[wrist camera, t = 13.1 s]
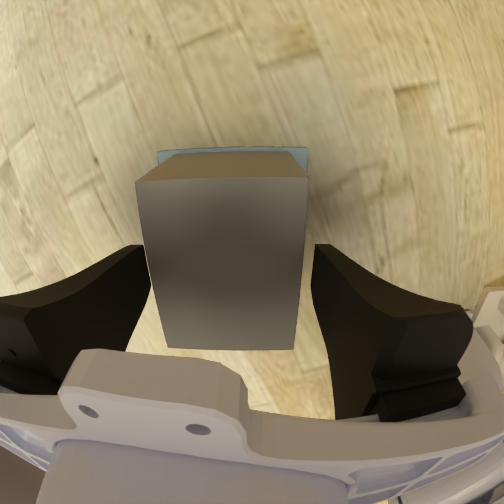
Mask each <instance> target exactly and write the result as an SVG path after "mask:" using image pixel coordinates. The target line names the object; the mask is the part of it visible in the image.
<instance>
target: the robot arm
mask: <svg viewBox="0 0 504 504" xmlns="http://www.w3.org/2000/svg"><path fill="white" fill-rule="evenodd" d="M150 288H151V281H150V276H149V272H148V267H147V262H146V256H145V251H144V246H143V245H129V246H126V247H124V248H122V249H120V250H118V251H116V252H115V253H113V254H111V255H109V256H108V257H106V258H104V259H102V260H101V261H99V262H97V263H95V264H93V265H92V266H90V267H88V268H86V269H84V270H82V271H81V272H79V273H77V274H75V275H73V276H70V277H68V278H66V279H64V280H61V281H59V282H56V283H53V284H51V285H48V286H45V287H42V288H39V289H36V290H32V291H29V292H25V293H21V294H16V295H10V296H4V297H0V445H1V446H3V447H5V448H6V449H8V450H9V451H11V452H13V453H14V454H16V455H18V456H19V457H21V458H23V459H24V460H26V461H28V462H30V463H31V464H33V465H35V466H37V467H39V468H40V469H42V470H44V471H46V474H45V477H44V480H43V483H42V486H41V489H40V492H39V495H38V498H37V501H36V504H375V503H378V502H381V501H385V500H388V503H389V504H504V395H503V393H502V390H503V378H502V372H501V369H500V366H499V364H498V362H497V361H496V359H495V358H494V356H493V355H492V353H491V352H490V350H489V349H488V347H487V346H486V344H485V343H484V341H483V340H482V338H481V337H480V335H479V334H478V333H477V331H476V330H475V328H474V327H473V322H472V320H471V318H472V316H473V313H472V312H471V311H464V309H463V308H462V307H461V305H457V304H452V303H447V302H442V301H438V300H434V299H430V298H427V297H424V296H420V295H417V294H415V293H412V292H409V291H407V290H404V289H402V288H399V287H397V286H395V285H393V284H391V283H389V282H387V281H385V280H383V279H381V278H379V277H377V276H376V275H374V274H372V273H371V272H369V271H368V270H366V269H364V268H363V267H361V266H360V265H358V264H357V263H356V262H354V261H353V260H351V259H350V258H349V257H347V256H346V255H345V254H343V253H342V252H340V251H339V250H338V249H336V248H335V247H333V246H332V245H330V244H315V249H314V259H313V268H312V277H311V293H312V299H313V305H314V309H315V312H316V315H317V319H318V322H319V325H320V328H321V332H322V335H323V338H324V342H325V345H326V349H327V353H328V359H329V365H330V372H331V379H332V387H333V396H334V407H335V420H325V419H314V418H305V417H297V416H289V415H282V414H275V413H269V412H263V411H257V410H251V409H250V408H249V405H248V389H247V387H246V385H245V383H244V381H243V379H242V377H241V375H239V374H237V373H236V372H234V371H232V370H231V369H229V368H227V367H226V366H224V365H222V364H221V363H218V362H214V361H209V360H204V359H199V358H190V357H175V356H162V355H151V354H141V353H131V352H125V351H126V348H127V345H128V342H129V340H130V338H131V335H132V333H133V331H134V329H135V327H136V324H137V322H138V320H139V318H140V316H141V313H142V311H143V309H144V307H145V304H146V302H147V298H148V295H149V292H150Z"/></svg>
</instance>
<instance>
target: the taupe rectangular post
mask: <svg viewBox="0 0 504 504" xmlns="http://www.w3.org/2000/svg"><path fill="white" fill-rule="evenodd" d="M308 183H309V177H308V176H307V175H306V173H305V172H304V171H303V169H302V168H301V167H300V165H299V164H298V163H297V161H296V160H295V159H294V157H293V156H292V155H291V154H290V152H289V151H220V152H196V153H180V154H174V155H173V156H171V157H170V158H168V159H167V160H165V161H164V162H162V163H161V164H159V165H158V166H157V167H155V168H154V169H152V170H151V171H149V172H148V173H147V174H145V175H144V176H143V177H141V178H140V179H138V180H137V181H136V182H135V187H136V194H137V201H138V208H139V215H140V221H141V228H142V234H143V239H144V245H145V250H146V256H147V261H148V266H149V271H150V276H151V281H152V285H153V290H154V294H155V299H156V303H157V307H158V311H159V315H160V320H161V323H162V327H163V331H164V335H165V339H166V343H167V346H168V348H181V349H203V350H293V349H294V341H295V333H296V325H297V316H298V307H299V298H300V288H301V277H302V267H303V255H304V243H305V230H306V216H307V201H308Z"/></svg>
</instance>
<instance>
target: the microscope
mask: <svg viewBox="0 0 504 504" xmlns="http://www.w3.org/2000/svg"><path fill="white" fill-rule="evenodd" d="M471 320H472V322H473V327H474V328H475V330H476V331H477V333H478V334H479V335H480V337H481V338H482V340H483V341H484V343H485V344H486V346H487V347H488V349H489V350H490V352H491V353H492V355H493V356H494V358H495V359H496V361H497V362H498V364H499V366H500V369H501V372H502V378H503V390H502V393H503V395H504V286H493V287H484V289H483V292H482V294H481V296H480V298H479V301H478V303H477V305H476V307H475V309H474V311H473V316H472V318H471Z"/></svg>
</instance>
